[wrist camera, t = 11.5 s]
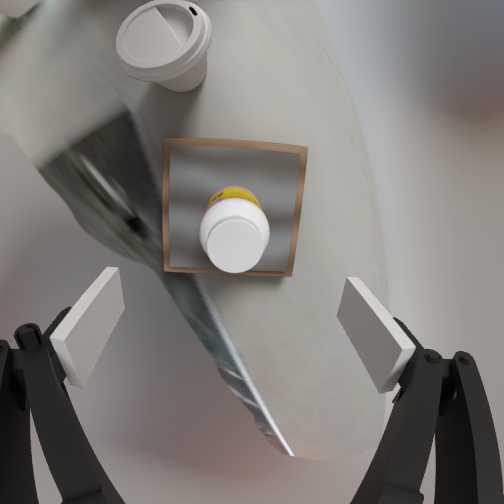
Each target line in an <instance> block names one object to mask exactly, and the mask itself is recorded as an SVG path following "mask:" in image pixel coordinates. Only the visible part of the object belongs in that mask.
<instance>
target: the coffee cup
mask: <svg viewBox="0 0 504 504" xmlns="http://www.w3.org/2000/svg"><path fill="white" fill-rule="evenodd" d="M212 36H213V28H212V23H211V21H210V19H209V17H208V15H207V14H206V13H205V12H204V11H203V10H202V9H201V8H200V7H198V6H197V5H195V4H193V3H191V2H188V1H184V0H154V1H151V2H148V3H146V4H144V5H142V6H140V7H139V8H137V9H136V10H134V11H133V12H132V13H131V14H130V15H129V16H128V17H127V18H126V19H125V20H124V22H123V23H122V25H121V26H120V28H119V30H118V33H117V37H116V43H115V55H116V59H117V61H118V64H119V66H120V67H121V69H122V70H123V71H124V72H125V73H126V74H127V75H129V76H130V77H132V78H134V79H137V80H141V81H147V82H155V83H157V84H159V85H161V86H163V87H166V88H168V89H170V90H172V91H175V92H187V91H190V90H192V89H194V88H196V87H197V86H199V85H200V84H201V83H202V82H203V80H204V78H205V76H206V73H207V50H208V48H209V46H210V44H211V41H212Z"/></svg>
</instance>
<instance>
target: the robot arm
mask: <svg viewBox="0 0 504 504" xmlns="http://www.w3.org/2000/svg"><path fill="white" fill-rule="evenodd" d="M124 309H125V306H124V301H123V294H122V288H121V281H120V273H119V268H117V267H107V268H106V269H105V270H104V271H103V272H102V273H101V274H100V275H99V277H98V278H97V279H96V280H95V281H94V282H93V284H92V285H91V286H90V287H89V288H88V289H87V291H86V292H85V293H84V294H83V295H82V296H81V298H80V299H79V300H78V301H77V303H76V304H75V305H74V306H73V307H68V308H66V309H64V310H63V311H61V312H60V314H59V315H58V316H57V317H56V319H55V320H54V321H53V322H52V324H51V325H50V326H49V327H48V329H47V330H46V331H45V333H44V334H43V335H42V334H41V331H40V328H39V326H38V325H36V324H34V323H28V324H24V325H22V326H20V327H19V328H18V329H17V330H16V331H15V333H14V338H15V340H16V342H17V344H18V347H19V349H11V348H10V346H9V344H8V342H7V341H5V340H0V504H39V502H38V497H37V492H36V486H35V480H34V473H33V464H32V454H31V440H30V408H31V413H32V416H33V420H34V424H35V428H36V431H37V434H38V438H39V441H40V444H41V447H42V450H43V453H44V456H45V458H46V461H47V464H48V466H49V469H50V471H51V474H52V476H53V478H54V481H55V483H56V485H57V487H58V490H59V492H60V494H61V496H62V499H63V501H62V503H61V504H125V502H124V501H123V499H122V498H121V497H120V495H119V494H118V492H117V491H116V489H115V488H114V486H113V484H112V483H111V481H110V480H109V478H108V476H107V475H106V473H105V471H104V469H103V468H102V466H101V464H100V463H99V461H98V459H97V457H96V455H95V453H94V451H93V450H92V447H91V446H90V444H89V442H88V439H87V437H86V436H85V433H84V431H83V429H82V427H81V425H80V422H79V420H78V418H77V415H76V413H75V411H74V408H73V406H72V403H71V400H70V398H69V395H68V392H67V390H66V387H65V385H64V383H63V381H64V379H65V377H66V376H67V379H68V381H69V382H70V384H71V385H74V386H78V387H81V388H85V386H86V384H87V382H88V379H89V377H90V375H91V373H92V371H93V369H94V367H95V365H96V363H97V361H98V358H99V357H100V355H101V353H102V351H103V349H104V347H105V345H106V343H107V341H108V339H109V337H110V335H111V333H112V331H113V330H114V328H115V326H116V324H117V322H118V320H119V318H120V317H121V315H122V313H123V311H124ZM337 317H338V319H339V321H340V323H341V324H342V326H343V328H344V330H345V331H346V333H347V335H348V337H349V338H350V340H351V342H352V344H353V346H354V347H355V349H356V351H357V353H358V355H359V356H360V358H361V360H362V362H363V364H364V366H365V367H366V369H367V371H368V373H369V375H370V377H371V378H372V380H373V382H374V384H375V386H376V388H377V390H378V392H379V394H380V393H385V392H389V391H392V390H393V389H394V387H395V385H396V384H397V382H398V383H399V385H400V386H401V388H400V390H399V392H398V393H397V395H396V396H395V398H394V399H393V401H392V403H394V402H395V403H394V406H393V409H392V412H391V415H390V418H389V421H388V423H387V426H386V429H385V431H384V434H383V436H382V439H381V441H380V444H379V446H378V449H377V451H376V453H375V456H374V458H373V460H372V462H371V464H370V466H369V469H368V471H367V473H366V475H365V477H364V479H363V481H362V483H361V485H360V487H359V488H358V491H357V492H356V494H355V496H354V498H353V499H352V501H351V503H350V504H423V500H424V495H423V494H422V493H420V491H419V490H420V486H421V483H422V480H423V477H424V473H425V470H426V467H427V463H428V459H429V455H430V451H431V447H432V442H433V438H434V433H435V447H436V448H435V449H436V479H435V480H436V481H435V498H434V504H504V495H503V481H502V470H501V462H500V455H499V449H498V443H497V437H496V432H495V428H494V423H493V419H492V415H491V411H490V407H489V403H488V400H487V396H486V393H485V390H484V386H483V383H482V380H481V377H480V374H479V371H478V368H477V365H476V363H475V360H474V359H473V357H472V356H471V355H470V354H469V353H466V352H463V351H458V352H456V353H455V355H454V357H453V359H443V358H442V356H441V355H440V354H439V353H438V352H436V351H434V350H431V349H424V348H423V347H422V346H421V344H420V343H419V342H418V340H417V339H416V338H415V337H414V335H412V334H411V332H410V331H409V330H408V329H407V327H406V326H405V325H404V324H403V322H401V321H400V320H398V319H397V318H395V317H393V318H392V317H391V315H390V314H389V313H388V312H387V311H386V309H385V308H384V307H383V306H382V305H381V303H380V302H379V301H378V300H377V299H376V298H375V296H374V295H373V294H372V293H371V292H370V291H369V289H368V288H367V287H366V286H365V285H364V284H363V283H362V281H361V280H360V279H359V278H358V277H347V278H346V282H345V286H344V290H343V294H342V298H341V302H340V306H339V310H338V313H337ZM456 393H457V394H456Z"/></svg>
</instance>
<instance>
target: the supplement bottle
mask: <svg viewBox="0 0 504 504" xmlns="http://www.w3.org/2000/svg"><path fill="white" fill-rule="evenodd" d="M199 237H200V242H201V245H202V247H203V249H204V251H205V252H206V254H207V255H208V256H209V258H210V260H211V262H212V263H213V264H214V265H215V266H216V267H218V268H219V269H221V270H223V271H225V272H229V273H241V272H244V271H247V270H249V269H251V268H252V267H254V266H255V265H256V264H257V263H258V261H259V260H260V258H261V256H262V253H263V252H264V251H265V249H266V247H267V245H268V241H269V237H270V229H269V224H268V221H267V218H266V216H265V214H264V212H263V210H262V208H261V206H260V204H259V202H258V200H257V198H256V197H255V196H254V194H253V193H252V192H250V191H249V190H247V189H245V188H243V187H240V186H228V187H224V188H222V189H220V190H218V191H217V192H216V193H215V194H214V195H213V196H212V197H211V199H210V200H209V202H208V205H207V207H206V210H205V213H204V216H203V218H202V221H201V224H200V229H199Z"/></svg>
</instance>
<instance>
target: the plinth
mask: <svg viewBox="0 0 504 504" xmlns="http://www.w3.org/2000/svg"><path fill="white" fill-rule="evenodd" d="M307 153H308V147H305V146H297V145H289V144H280V143H270V142H259V141H247V140H232V139H209V138H164V153H163V183H162V226H163V257H164V271H169V272H187V273H207V274H229V275H253V276H282V277H292V272H293V265H294V259H295V252H296V245H297V237H298V230H299V223H300V215H301V207H302V199H303V190H304V182H305V173H306V163H307ZM228 186H240V187H243V188H245V189H247V190H249V191H250V192H252V193H253V194H254V196H255V197H256V198H257V200H258V202H259V204H260V206H261V208H262V210H263V212H264V214H265V216H266V218H267V221H268V224H269V229H270V237H269V241H268V245H267V247H266V249H265V251H264V252H263V253H262V256H261V258H260V260H259V261H258V263H257V264H256V265H255V266H254V267H252V268H251V269H249V270H247V271H244V272H241V273H229V272H225V271H223V270H221V269H219V268H218V267H216V266H215V265H214V264H213V263H212V262H211V260H210V258H209V256H208V255H207V254H206V252H205V251H204V249H203V247H202V245H201V242H200V237H199V229H200V224H201V221H202V218H203V216H204V213H205V210H206V207H207V205H208V202H209V200H210V199H211V197H212V196H213V195H214V194H215V193H216V192H217V191H218V190H220V189H222V188H224V187H228Z"/></svg>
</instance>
